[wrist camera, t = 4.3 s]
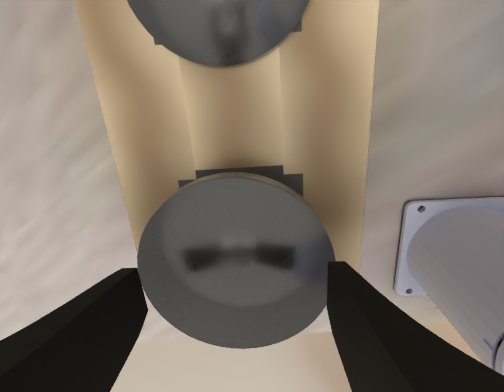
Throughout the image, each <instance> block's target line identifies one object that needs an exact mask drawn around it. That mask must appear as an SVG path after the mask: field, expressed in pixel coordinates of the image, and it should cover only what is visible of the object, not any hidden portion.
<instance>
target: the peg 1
mask: <svg viewBox="0 0 504 392" xmlns="http://www.w3.org/2000/svg"><path fill="white" fill-rule="evenodd" d="M309 1H310V0H127V2H128V4H129V6H130V8H131V9H132V11H133V13H134V14H135V16H136V17H137V19H138V20H139V22H140V23H141V24H142V25H143V27H144V28H145V29H146V30H147V31H148V32H149V33H150V35H151V36H152V37H153V38H154V39H155V40H156V41H158V42H159V43H160V44H161V45H163V46H164V47H165V48H167V49H168V50H170V51H171V52H173V53H175V54H176V55H178V56H180V57H182V58H184V59H186V60H189V61H191V62H193V63H196V64H199V65H203V66H206V67H213V68H233V67H240V66H243V65H247V64H250V63H253V62H255V61H257V60H259V59H261V58H263V57H265V56H266V55H268V54H269V53H271V52H272V51H273V50H275V49H276V48H277V47H278V46H279V45H280V44H282V43H283V42H284V40H285V39H286V38H287V37H288V36H289V35H290V34H291V32H292V31H293V30H294V28H295V27H296V25H297V24H298V22H299V21H300V19H301V17H302V15H303V13H304V12H305V10H306V8H307V5H308V3H309Z"/></svg>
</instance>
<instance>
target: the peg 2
mask: <svg viewBox="0 0 504 392" xmlns="http://www.w3.org/2000/svg"><path fill="white" fill-rule="evenodd" d="M137 260H138V271H139V276H140V280H141V283H142V286H143V289H144V291H145V293H146V295H147V297H148V299H149V300H150V302H151V303H152V305H153V306H154V308H155V309H156V310H157V311H158V312H159V313H160V315H161V316H162V317H163V318H165V319H166V320H167V321H168V322H169V323H170V324H171V325H173V326H174V327H175V328H177V329H178V330H180V331H181V332H183V333H185V334H187V335H188V336H190V337H193V338H195V339H197V340H199V341H203V342H205V343H208V344H212V345H216V346H220V347H228V348H241V349H242V348H243V349H245V348H257V347H264V346H268V345H272V344H275V343H279V342H281V341H284V340H286V339H288V338H290V337H292V336H294V335H296V334H298V333H299V332H301V331H302V330H304V329H305V328H306V327H308V326H309V325H310V324H311V323H312V322H313V321H314V320H315V319H316V318H317V317H318V316H319V314H320V313H321V312H322V311H323V309H324V307H325V306H326V304H327V277H328V262H329V261H336V259H335V254H334V249H333V246H332V244H331V241H330V238H329V236H328V233H327V231H326V229H325V227H324V225H323V223H322V221H321V219H320V217H319V216H318V214H317V213H316V212H315V210H314V209H313V208H312V206H311V205H310V204H309V203H308V202H307V201H306V200H305V199H304V198H303V197H302V196H300V195H299V194H298V193H297V192H295V191H294V190H293V189H291V188H289V187H287V186H286V185H284V184H282V183H280V182H278V181H275V180H273V179H271V178H268V177H264V176H260V175H257V174H250V173H243V172H227V173H218V174H213V175H209V176H205V177H202V178H199V179H197V180H194V181H192V182H190V183H188V184H187V185H185V186H183V187H181V188H180V189H179V190H177V191H176V192H175V193H174V194H172V195H171V196H170V197H169V198H168V199H167V200H166V201H165V202H164V203H163V204H162V205H161V206H160V208H159V209H158V210H157V211H156V212H155V213H154V214H153V215H152V217H151V218H150V220H149V221H148V223H147V225H146V227H145V229H144V231H143V233H142V236H141V239H140V242H139V247H138V255H137Z"/></svg>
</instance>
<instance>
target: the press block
mask: <svg viewBox="0 0 504 392" xmlns="http://www.w3.org/2000/svg"><path fill="white" fill-rule="evenodd" d="M75 3H76V7H77V11H78V15H79V19H80V23H81V27H82V31H83V35H84V39H85V44H86V48H87V52H88V56H89V60H90V64H91V68H92V72H93V76H94V80H95V84H96V88H97V92H98V96H99V100H100V104H101V108H102V112H103V116H104V120H105V124H106V128H107V132H108V136H109V140H110V144H111V148H112V152H113V157H114V161H115V165H116V169H117V173H118V177H119V181H120V185H121V189H122V193H123V197H124V201H125V205H126V209H127V213H128V217H129V221H130V225H131V229H132V233H133V237H134V241H135V245H136V249H137V253H138V247H139V242H140V239H141V236H142V233H143V231H144V229H145V227H146V225H147V223H148V221H149V220H150V218H151V217H152V215H153V214H154V213H155V212H156V211H157V210H158V209H159V208H160V206H161V205H162V204H163V203H164V202H165V201H166V200H167V199H168V198H169V197H170V196H171V195H172V194H174V193H175V192H176V191H177V190H179V189H180V188H181V187H183V186H185V185H187V184H188V183H190V182H192V181H194V180H197V179H199V178H202V177H205V176H209V175H213V174H218V173H227V172H243V173H250V174H257V175H260V176H264V177H268V178H271V179H273V180H275V181H278V182H280V183H282V184H284V185H286V186H287V187H289V188H291V189H293V190H294V191H295V192H297V193H298V194H299V195H300V196H302V197H303V198H304V199H305V200H306V201H307V202H308V203H309V204H310V205H311V206H312V208H313V209H314V210H315V212H316V213H317V214H318V216H319V217H320V219H321V221H322V223H323V225H324V227H325V229H326V231H327V233H328V236H329V238H330V241H331V244H332V246H333V249H334V254H335V259H336V261H346V262H347V263H348V264H349V265H350V266H351V267H352V268H353V269H354V270H355V271H356V272H358V273H359V270H360V257H361V243H362V229H363V215H364V202H365V188H366V174H367V160H368V147H369V133H370V119H371V105H372V92H373V78H374V64H375V51H376V37H377V23H378V9H379V0H310V1H309V3H308V5H307V8H306V10H305V12H304V13H303V15H302V17H301V19H300V21H299V22H298V24H297V25H296V27H295V28H294V30H293V31H292V32H291V34H290V35H289V36H288V37H287V38H286V39H285V40H284V42H283V43H282V44H280V45H279V46H278V47H277V48H276V49H275V50H273V51H272V52H271V53H269V54H268V55H266V56H265V57H263V58H261V59H259V60H257V61H255V62H253V63H250V64H247V65H243V66H240V67H233V68H213V67H206V66H203V65H199V64H196V63H193V62H191V61H189V60H186V59H184V58H182V57H180V56H178V55H176V54H175V53H173V52H171V51H170V50H168V49H167V48H165V47H164V46H163V45H161V44H160V43H159V42H158V41H156V40H155V39H154V38H153V37H152V36H151V35H150V33H149V32H148V31H147V30H146V29H145V28H144V27H143V25H142V24H141V23H140V22H139V20H138V19H137V17H136V16H135V14H134V13H133V11H132V9H131V8H130V6H129V4H128V2H127V0H75Z"/></svg>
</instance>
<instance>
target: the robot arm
mask: <svg viewBox="0 0 504 392" xmlns="http://www.w3.org/2000/svg"><path fill="white" fill-rule="evenodd" d="M420 206H422V209H421V210H418V207H420ZM407 289H409V290H407ZM406 290H407V291H406ZM394 291H395V292H396V294H397V295H398V296H429V297H430V298H431V300H432V301H433V302H434V303H435V305H436V306H437V307H438V308H439V309H440V311H441V312H442V313H443V314H444V316H445V317H446V318H447V319H448V321H449V322H450V323H451V324H452V325H453V327H454V328H455V329H456V330H457V332H458V333H459V334H460V335H461V337H462V338H463V339H464V340H465V341H466V343H467V344H468V345H469V346H470V347H471V349H472V350H473V351H474V353H475V354H476V355H477V356H478V358H479V359H480V360H481V361H482V362H483V364H482V363H481V362H479V361H477V360H476V359H474V358H472V357H470V356H469V355H467V354H465V353H464V352H462V351H460V350H459V349H457V348H456V347H454V346H452V345H450V344H449V343H447V342H446V341H444V340H443V339H442V338H440V337H438V336H437V335H436V334H434V333H432V332H431V331H430V330H428V329H427V328H425V327H424V326H422V325H421V324H419V323H418V322H417V321H415V320H414V319H413V318H411V317H410V316H409V315H407V314H406V313H405V312H403V311H402V310H401V309H399V308H398V307H397V306H396V305H394V304H393V303H392V302H391V301H389V300H388V299H387V298H386V297H385V296H383V295H382V294H381V293H380V292H379V291H378V290H376V289H375V288H374V287H373V286H372V285H371V284H370V283H368V282H367V281H366V280H365V279H364V278H363V277H362V276H361V275H360V274H359V273H358V272H356V271H355V270H354V269H353V268H352V267H351V266H350V265H349V264H348V263H347V262H346V261H329V262H328V277H327V310H328V315H329V320H330V325H331V329H332V333H333V336H334V339H335V342H336V345H337V349H338V352H339V355H340V358H341V361H342V363H343V366H344V369H345V372H346V375H347V378H348V381H349V383H350V387H351V389H352V392H504V197H485V198H465V199H444V200H423V201H410V202H408V203H407V204H406V205H405V207H404V214H403V222H402V230H401V238H400V246H399V254H398V262H397V270H396V277H395V285H394ZM147 312H148V308H147V304H146V300H145V296H144V292H143V288H142V284H141V280H140V276H139V273H138V269H137V268H122V269H120V270H118V271H116V272H115V273H113V274H111V275H110V276H108V277H106V278H105V279H103V280H101V281H100V282H98V283H97V284H95V285H94V286H92V287H91V288H89V289H87V290H86V291H84V292H83V293H81V294H80V295H78V296H76V297H75V298H73V299H72V300H70V301H69V302H67V303H65V304H64V305H62V306H60V307H59V308H57V309H55V310H54V311H52V312H50V313H49V314H47V315H45V316H44V317H42V318H40V319H39V320H37V321H36V322H34V323H32V324H30V325H29V326H27V327H25V328H23V329H21V330H20V331H18V332H16V333H14V334H12V335H10V336H8V337H7V338H5V339H3V340H1V341H0V392H110V390H111V388H112V386H113V385H114V383H115V381H116V379H117V377H118V375H119V373H120V371H121V370H122V368H123V366H124V364H125V362H126V360H127V358H128V356H129V354H130V352H131V350H132V348H133V347H134V345H135V343H136V341H137V339H138V337H139V334H140V332H141V329H142V326H143V324H144V321H145V318H146V315H147Z"/></svg>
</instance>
